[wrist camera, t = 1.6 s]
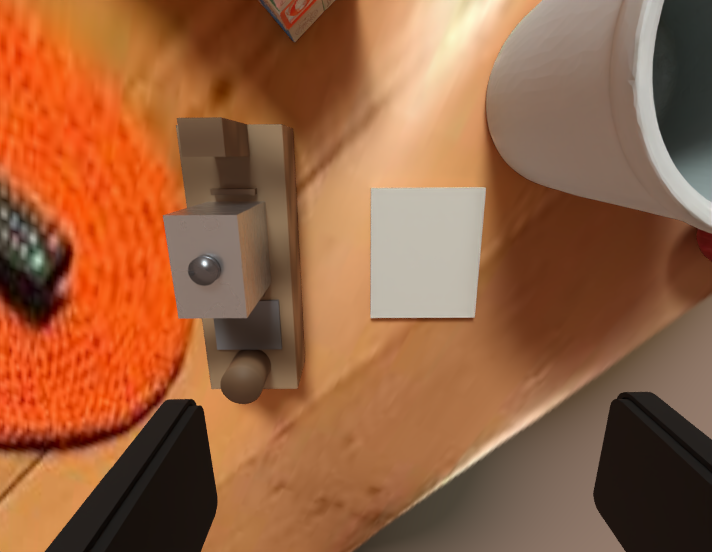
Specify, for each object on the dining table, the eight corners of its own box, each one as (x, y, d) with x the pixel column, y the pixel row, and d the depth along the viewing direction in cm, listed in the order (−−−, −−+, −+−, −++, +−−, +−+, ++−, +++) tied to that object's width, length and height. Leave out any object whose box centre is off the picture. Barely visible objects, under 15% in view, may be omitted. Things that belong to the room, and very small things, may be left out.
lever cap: (207, 201, 27) (157, 216, 20) (264, 201, 27) (233, 216, 20) (217, 283, 29) (174, 322, 22) (271, 283, 29) (244, 322, 22)
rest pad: (370, 188, 31) (371, 188, 31) (483, 187, 31) (486, 187, 31) (370, 315, 35) (370, 317, 34) (472, 314, 34) (474, 317, 34)
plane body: (202, 129, 30) (134, 118, 21) (292, 128, 30) (264, 117, 21) (229, 361, 36) (185, 430, 27) (304, 360, 36) (286, 430, 27)
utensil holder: (719, 98, 29) (1203, 22, 12) (555, 235, 32) (765, 322, 16) (607, -73, 26) (1047, -480, 9) (438, 96, 29) (543, 19, 13)
